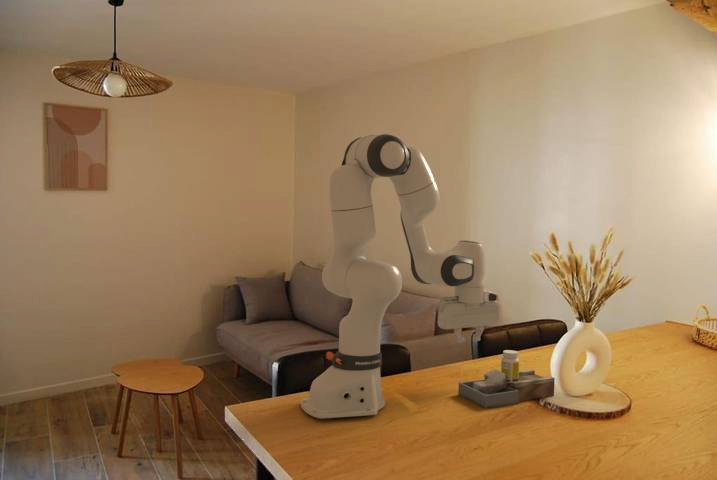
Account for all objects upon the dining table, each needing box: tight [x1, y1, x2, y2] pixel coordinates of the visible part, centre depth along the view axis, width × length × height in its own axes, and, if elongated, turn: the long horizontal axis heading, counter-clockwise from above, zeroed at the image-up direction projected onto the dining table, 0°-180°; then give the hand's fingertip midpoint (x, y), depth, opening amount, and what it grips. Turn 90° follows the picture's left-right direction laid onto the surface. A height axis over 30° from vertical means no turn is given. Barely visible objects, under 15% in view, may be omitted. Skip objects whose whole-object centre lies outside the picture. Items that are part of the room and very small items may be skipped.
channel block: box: [507, 369, 555, 402], centre depth 153 cm, size 14×9×5 cm, turn 115°
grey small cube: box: [483, 368, 507, 392], centre depth 149 cm, size 4×4×4 cm
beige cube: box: [473, 381, 494, 395], centre depth 147 cm, size 4×4×4 cm
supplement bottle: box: [500, 349, 520, 384], centre depth 151 cm, size 5×5×8 cm
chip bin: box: [457, 378, 520, 410], centre depth 148 cm, size 11×12×3 cm
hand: (468, 341), depth 160 cm, fingers open, 4 cm apart
